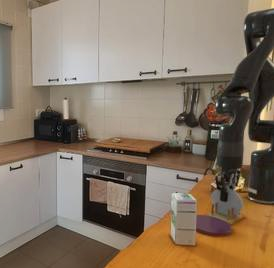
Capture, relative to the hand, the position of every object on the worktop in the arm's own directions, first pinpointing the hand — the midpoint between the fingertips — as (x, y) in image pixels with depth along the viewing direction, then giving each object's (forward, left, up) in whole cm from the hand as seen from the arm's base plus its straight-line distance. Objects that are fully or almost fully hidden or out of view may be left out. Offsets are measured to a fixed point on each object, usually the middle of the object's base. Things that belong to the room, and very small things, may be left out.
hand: (226, 199), depth 98 cm
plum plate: (+12, 0, -7) cm, 14 cm away
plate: (0, 0, -1) cm, 1 cm away
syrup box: (+27, 0, -7) cm, 28 cm away
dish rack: (0, 0, -7) cm, 7 cm away
